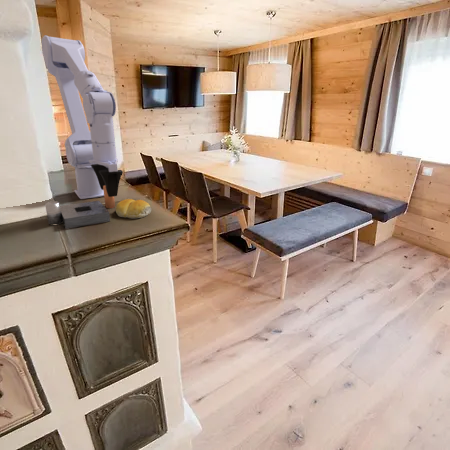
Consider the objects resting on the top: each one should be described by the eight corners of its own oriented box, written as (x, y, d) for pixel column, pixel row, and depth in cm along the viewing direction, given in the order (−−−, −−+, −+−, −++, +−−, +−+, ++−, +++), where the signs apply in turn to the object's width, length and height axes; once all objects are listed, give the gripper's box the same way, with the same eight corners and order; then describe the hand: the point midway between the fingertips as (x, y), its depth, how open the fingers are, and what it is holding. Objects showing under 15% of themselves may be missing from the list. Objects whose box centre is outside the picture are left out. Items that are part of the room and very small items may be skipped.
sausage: (104, 206, 87) (101, 185, 85) (113, 204, 88) (111, 184, 86) (106, 208, 85) (104, 187, 83) (116, 207, 86) (114, 186, 84)
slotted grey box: (46, 217, 77) (42, 198, 75) (100, 209, 84) (98, 191, 82) (51, 231, 70) (47, 210, 68) (110, 221, 77) (108, 202, 75)
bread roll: (127, 207, 87) (126, 193, 86) (155, 211, 85) (154, 197, 84) (108, 216, 80) (107, 202, 79) (139, 221, 78) (138, 206, 76)
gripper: (81, 139, 83) (87, 188, 88) (93, 146, 72) (100, 201, 77) (108, 138, 87) (112, 185, 92) (123, 145, 76) (128, 197, 81)
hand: (108, 192), depth 85 cm, fingers open, 7 cm apart
